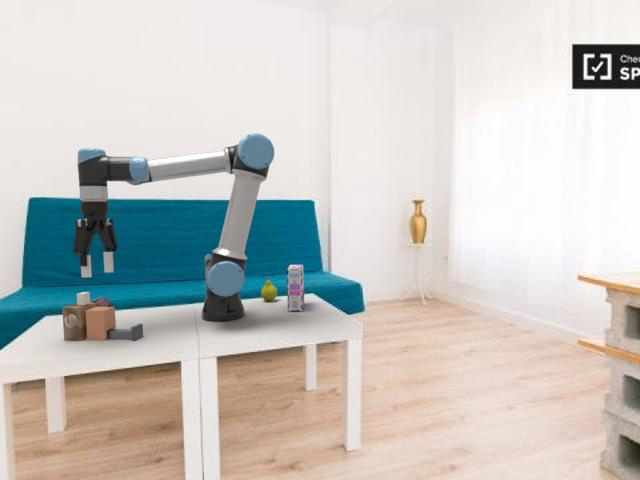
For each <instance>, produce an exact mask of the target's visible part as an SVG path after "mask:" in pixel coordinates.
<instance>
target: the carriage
mask: <svg viewBox="0 0 640 480" xmlns="http://www.w3.org/2000/svg"><path fill="white" fill-rule="evenodd" d="M116 326H117V325H116V308H115V306H112V307H95V308H92V309H89V310H86V327H87V339H86V340H87V341H107V340H108V339H107V330H109V329H117V328H116Z"/></svg>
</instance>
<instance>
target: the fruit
mask: <svg viewBox="0 0 640 480" xmlns="http://www.w3.org/2000/svg"><path fill="white" fill-rule="evenodd" d="M264 275H265V276H266V277H267V280H266V281H265V283H264V286H263V287H262V289H261V290H260V295H261V297H262V299H263V300H264V301H265V302H273V301H274V300H276V298H277V297H278V289H277V287H276V286H274V285H273V283H272V281H271V280H270V279H269V277H268V275H267V274H266V273H264Z"/></svg>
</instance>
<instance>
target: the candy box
mask: <svg viewBox="0 0 640 480" xmlns="http://www.w3.org/2000/svg"><path fill="white" fill-rule="evenodd" d="M286 273H287V274H286V278H287V279H286V280H287V281H286V285H287V287H286V288H287V289H286V290H287V292H286V294H287V312H303V311H304V306H305V283H304V282H305V277H304V275H305V274H304V264H290V265H289V266H288V268H287V269H286Z"/></svg>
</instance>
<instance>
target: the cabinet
mask: <svg viewBox="0 0 640 480" xmlns="http://www.w3.org/2000/svg"><path fill="white" fill-rule="evenodd" d="M95 307H96V303H90V304H86V305H77V302H76V303H72V304H70V305H66V306H62V325H63V327H62V328H63V339H64V341H78V342H79V341H85V340H87V327H86V310H89V309H92V308H95Z"/></svg>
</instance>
